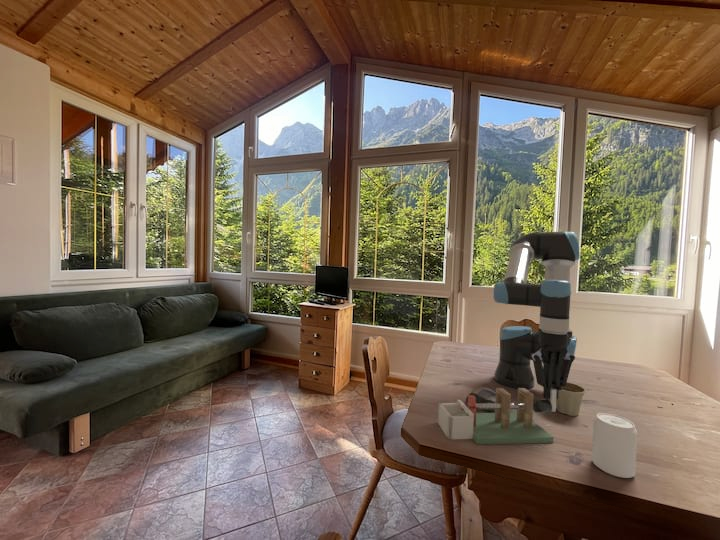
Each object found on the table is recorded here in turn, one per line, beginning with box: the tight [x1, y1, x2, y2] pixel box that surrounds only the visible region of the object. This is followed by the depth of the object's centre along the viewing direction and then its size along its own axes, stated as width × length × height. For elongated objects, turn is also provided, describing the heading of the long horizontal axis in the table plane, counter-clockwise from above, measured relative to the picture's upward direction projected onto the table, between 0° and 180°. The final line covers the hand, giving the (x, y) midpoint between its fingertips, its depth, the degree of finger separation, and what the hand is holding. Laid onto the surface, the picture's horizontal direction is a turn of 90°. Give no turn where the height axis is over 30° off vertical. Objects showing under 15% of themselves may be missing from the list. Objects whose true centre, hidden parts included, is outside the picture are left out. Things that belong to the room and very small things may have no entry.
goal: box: [437, 399, 474, 440], centre depth 89 cm, size 7×9×7 cm
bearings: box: [495, 387, 534, 429], centre depth 91 cm, size 9×4×10 cm, turn 95°
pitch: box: [461, 411, 554, 445], centre depth 91 cm, size 22×14×2 cm, turn 95°
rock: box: [465, 386, 496, 413], centre depth 106 cm, size 14×11×5 cm
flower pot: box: [556, 381, 587, 417], centre depth 103 cm, size 9×9×9 cm
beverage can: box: [591, 412, 638, 479], centre depth 74 cm, size 8×8×12 cm
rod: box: [466, 394, 553, 427], centre depth 91 cm, size 25×4×8 cm, turn 95°
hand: (550, 409), depth 92 cm, fingers closed
